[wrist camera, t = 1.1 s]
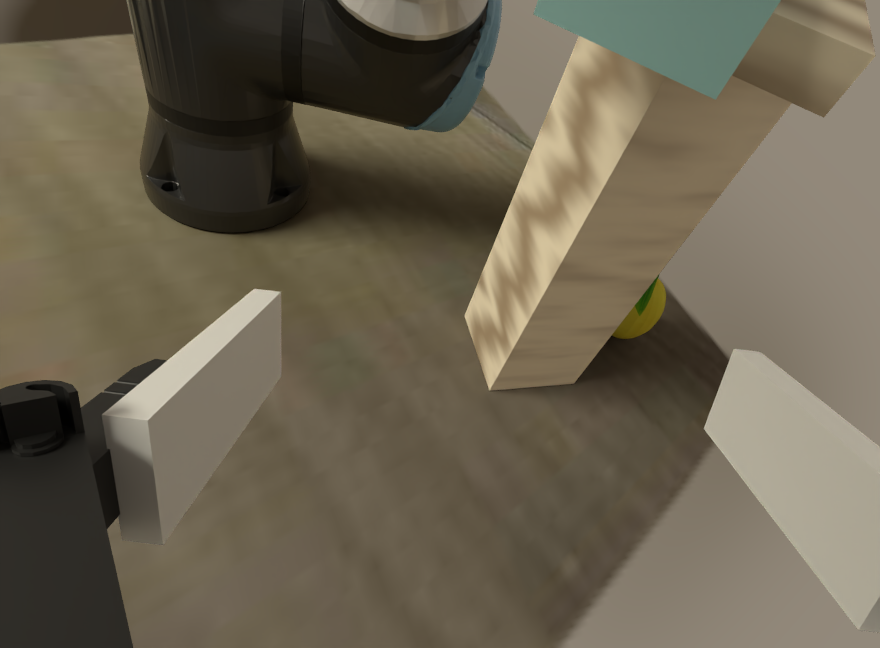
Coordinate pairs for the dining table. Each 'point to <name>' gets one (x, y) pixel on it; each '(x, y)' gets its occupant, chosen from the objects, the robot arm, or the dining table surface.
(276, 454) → the dining table surface
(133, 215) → the dining table surface
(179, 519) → the robot arm
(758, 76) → the stand
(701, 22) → the bar
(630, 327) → the lemon
